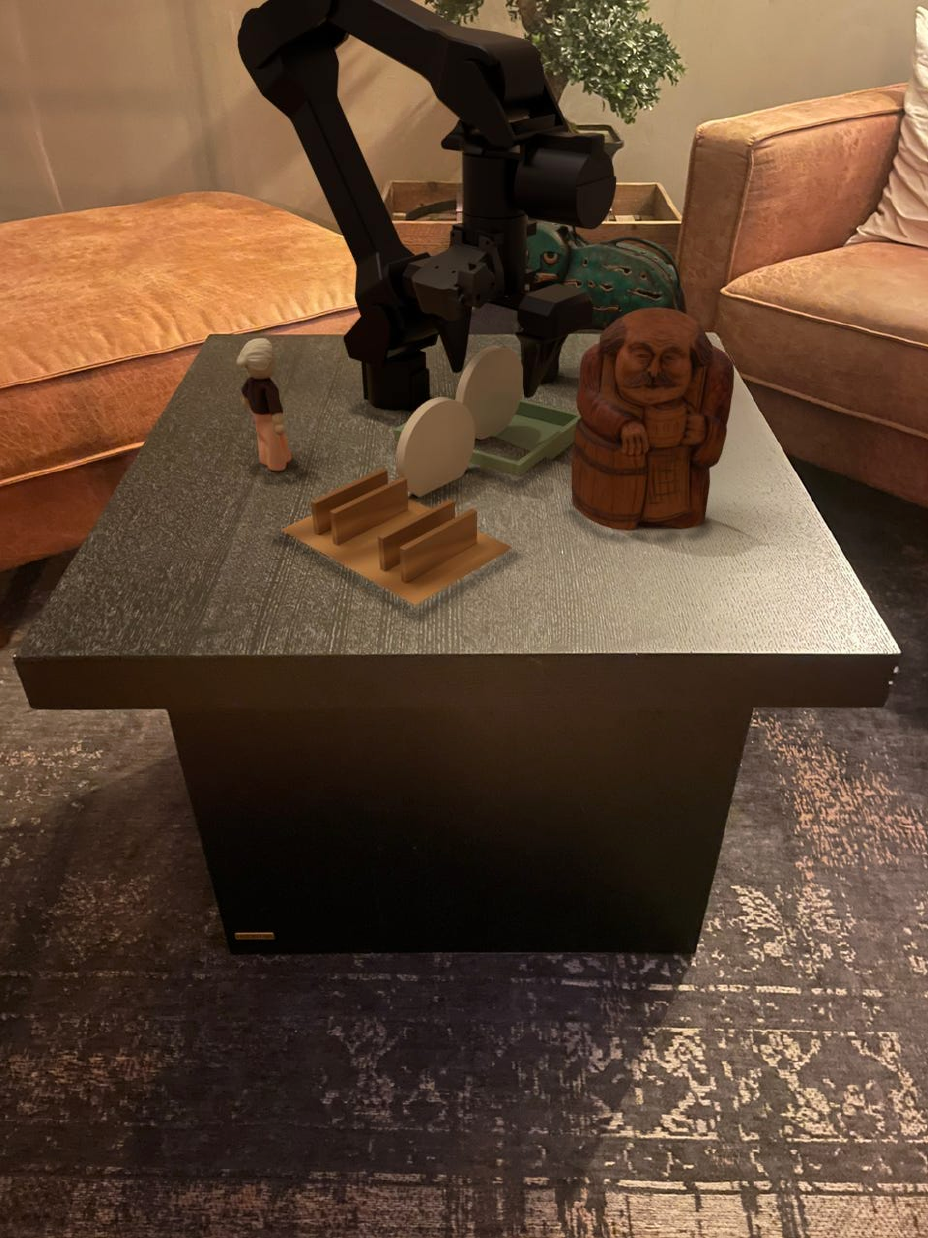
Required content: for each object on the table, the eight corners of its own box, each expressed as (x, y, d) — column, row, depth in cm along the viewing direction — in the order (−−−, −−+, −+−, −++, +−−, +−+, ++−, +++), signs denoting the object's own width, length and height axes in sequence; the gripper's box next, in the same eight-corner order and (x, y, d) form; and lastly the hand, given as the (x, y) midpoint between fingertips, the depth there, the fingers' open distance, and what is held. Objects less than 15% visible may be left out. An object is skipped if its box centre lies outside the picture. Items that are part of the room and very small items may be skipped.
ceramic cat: (502, 378, 105) (506, 190, 94) (529, 361, 110) (536, 178, 98) (665, 416, 97) (693, 213, 85) (687, 395, 101) (716, 200, 90)
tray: (395, 448, 91) (394, 429, 90) (467, 403, 100) (467, 385, 98) (519, 486, 84) (519, 465, 83) (584, 434, 93) (586, 414, 92)
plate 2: (456, 450, 89) (453, 361, 84) (516, 419, 95) (517, 333, 89) (463, 453, 89) (461, 363, 83) (523, 421, 94) (525, 335, 89)
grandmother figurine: (316, 476, 86) (301, 343, 79) (283, 490, 84) (265, 355, 76) (266, 451, 90) (247, 323, 83) (233, 464, 88) (211, 333, 81)
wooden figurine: (572, 539, 77) (589, 325, 66) (567, 502, 82) (581, 298, 71) (714, 540, 77) (754, 326, 66) (699, 503, 82) (734, 298, 71)
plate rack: (282, 539, 77) (276, 497, 75) (378, 493, 83) (376, 453, 81) (415, 615, 68) (413, 570, 66) (512, 557, 75) (513, 514, 72)
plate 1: (416, 386, 76) (479, 407, 84) (382, 489, 78) (447, 501, 86) (424, 389, 76) (487, 410, 83) (390, 492, 78) (455, 504, 85)
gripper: (353, 210, 80) (365, 382, 89) (516, 248, 69) (511, 439, 79) (442, 189, 86) (444, 352, 95) (604, 222, 76) (589, 400, 85)
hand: (492, 384), depth 88 cm, fingers open, 9 cm apart
